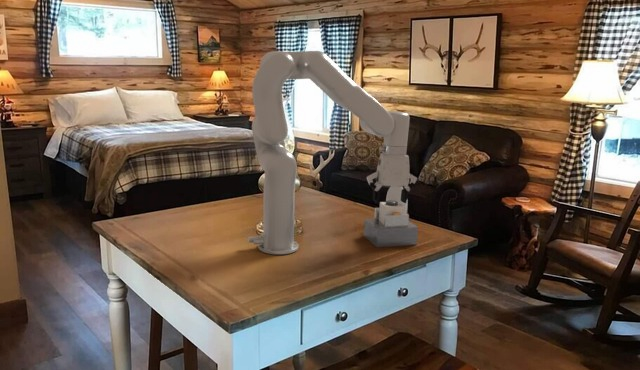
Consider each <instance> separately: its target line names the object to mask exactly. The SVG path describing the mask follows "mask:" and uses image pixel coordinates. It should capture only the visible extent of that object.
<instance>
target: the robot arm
mask: <svg viewBox="0 0 640 370" xmlns="http://www.w3.org/2000/svg"><path fill="white" fill-rule="evenodd" d="M307 79H309V80H310V81H311V82H312V83H314V85H315V86H317V87H318V88H319V89H320V90H321V91H322V92H323V93H324V94H325V95H326V96H328V98H329V99H331V100H332V101H333V102H334V103H335V104H336V105H338V106H339V107H341V108H342V109H345V110H347V111H349V112H350V113H352V114H353V115H354V116H356V117H357V118H358V119H359V126H360V128H361V129H362V130H363V131H364V132H366V133H368V134H371V135H374V136H377V137H380V138H381V137H382V138H383V144H382V146H379V147H378V150H379V152H382V153H380V155H379V158H378V163H377V166H376V171H375V172H373V173H371V174H370V175H367V176H366V180H367V181H366V182H367V183H368V185H369V186H370V187H371V189H372V201H373V202H374V203H376V204H380V196H381V195H380V194H381V192H380V189H381V188H382V187H390V186H402V187H403V189H402V191H401V201H402V202H404V203H406V201H407V199H409V192H410V191H411V189H412V188H413V187H414V186H415V184H416V182H417V181H418V177H417V176H415V175H413V174H412V173H410V157H409V155H408V154H407V150H408V140H409V139H408V138H409V128H410V119H411V117H410V115H409V113H407V112H404V111H403V112H402V111H388V110H387V109H386V108H385V107H384V106H383V105H382V104H381V103H380V102H379V101H378V100H377V99H376V98H374V96H372V95H371V94H369V93H368V92H367V91H365V90H364V89H363V88H362V87H361V86H360V85H358V84H357V83H356V82H355V81H354V80H353V79H351V78H350V76H349V75H347V74H346V73H345V72H344V70H342V69H341V67H340V66H338V65H337V64H336V62H335V61H334V60H333V59H331V58H330V57H329V56H328V54H326V53H324V52H323V51H321V50H320V51H319V50H305V51H282V50H275V51H273V50H272V51H268V52H267V53H265V54H264V55H263V56H262V58H261V59H260V62H259V68H258V69H257V72H256V73H255V75H254V79H253V81H252V87H251V89H252V90H251V91H252V92H251V93H252V95H251V96H252V101H253V109H254V113H255V116H254V117H253V120H252V124H251V131H252V137H253V142H254V146H255V152H256V157H257V160H258V161H257V162H258V163H259V166H260V167H261V169H262V171H264V181H263V217H262V218H263V223H262V224H263V231H262V232H261V234H260V235H259V234H258V236H248V237H247V242H248V243H249V244H250V243H251V244H252V243H253V245H258V247H257V248H258V250H259V251H260V252H262V253H265V254H268V255H269V254H270V255H288V254H292V253H295V252H297V251H298V250H299V246H300V245H299V242H297V241H295V239H294V238H295V205H296V204H295V202H296V201H295V200H296V199H295V197H296V196H295V193H296V192H295V190H296V181H297V173H298V172H297V171H298V167H297V166H298V163H297V161H296V160H297V159H296V158H295V156H294V155H293V153H291V151H289V150H288V149H287V148H286V142H285V140H286V138H287V136H288V132H289V127H288V123H287V120H286V118H287V117H286V114H285V109H284V104H283V94H282V93H283V87H284V84H285V83H286V81H287V80H307ZM373 179H375V183H374V182H373Z"/></svg>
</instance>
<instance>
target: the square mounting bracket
mask: <svg viewBox="0 0 640 370" xmlns="http://www.w3.org/2000/svg"><path fill="white" fill-rule="evenodd" d="M379 210H380V207H374V217H373V218H364V227H363V228H364V229H363V230H364V231H363V237H365V238H366V239H367V241H369V242H370V243H371V244H372V245H373V246H375V247H376V248H386V247H401V246H403V247H404V246H417V245H418V236H419V235H418V234H419V233H418V232H419V226H417V224H414V222H412V221H410V220H409V219H410V215H409V213H407V214H401V213H400V212H396V213H393V215H385V217H384V224H382V223H381V222H380V221H379Z"/></svg>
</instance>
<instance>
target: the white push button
mask: <svg viewBox="0 0 640 370" xmlns="http://www.w3.org/2000/svg"><path fill="white" fill-rule="evenodd" d="M379 208H380V210H379V221H380V222H381V223H382V224H384V217H385V215H393V213H396V212H400V213H401V214H403V213H404V206H403V205H401V204H400V203H398V202H397V201H393V200H388V201H386V200H385V201H379Z"/></svg>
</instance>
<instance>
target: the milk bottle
mask: <svg viewBox="0 0 640 370" xmlns="http://www.w3.org/2000/svg"><path fill="white" fill-rule="evenodd" d="M402 189H403V187H402V186H389V188H388V190H387V194H386V198H385V202H386V201H388V200H393V201H397V202H398V203H400V204H401V205H403V206H404V213H403V214H408V204H409V203H408V201H409V200H408V199H409V198H408V199H407V201H406V203H404V202H402V201H401V191H402Z"/></svg>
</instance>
